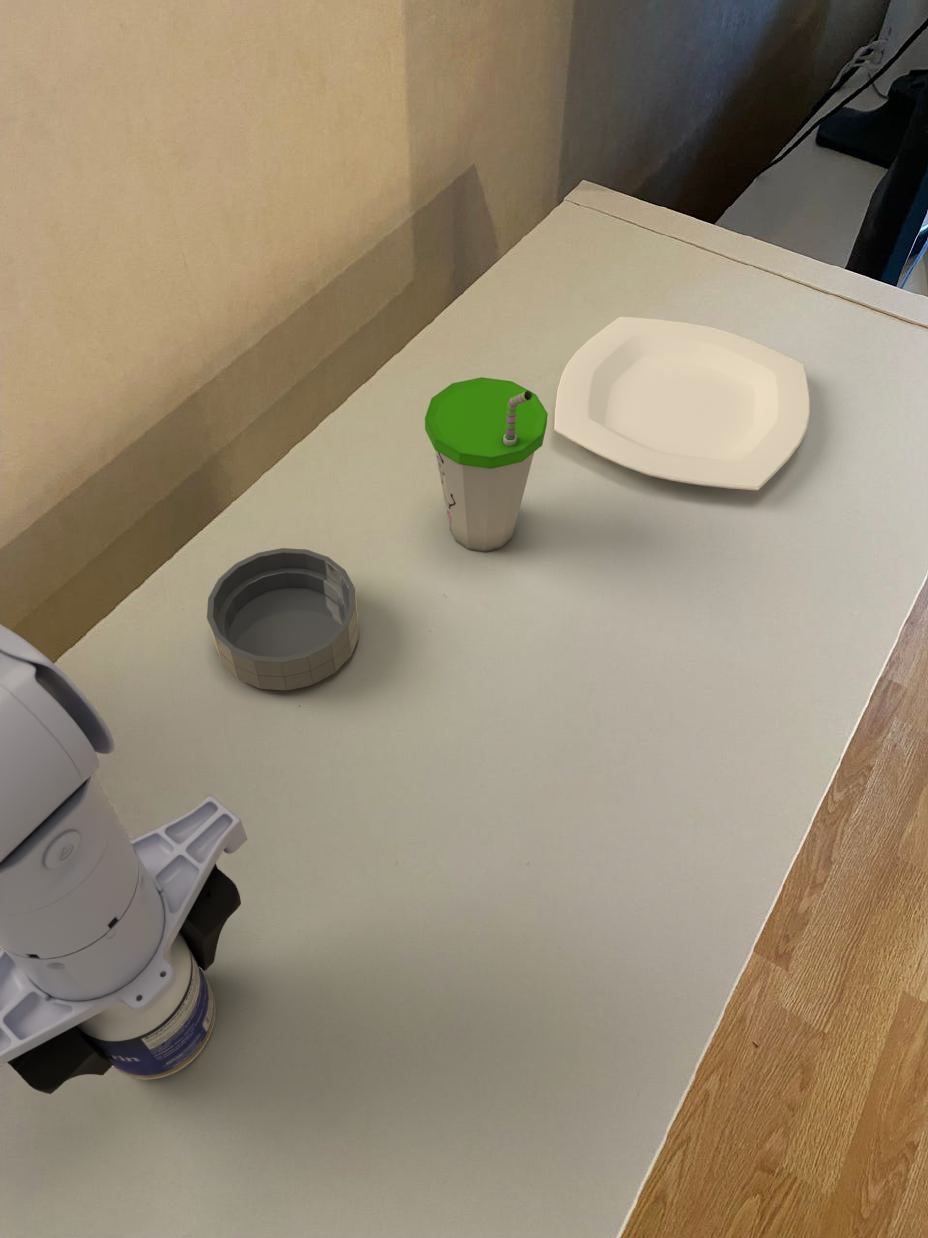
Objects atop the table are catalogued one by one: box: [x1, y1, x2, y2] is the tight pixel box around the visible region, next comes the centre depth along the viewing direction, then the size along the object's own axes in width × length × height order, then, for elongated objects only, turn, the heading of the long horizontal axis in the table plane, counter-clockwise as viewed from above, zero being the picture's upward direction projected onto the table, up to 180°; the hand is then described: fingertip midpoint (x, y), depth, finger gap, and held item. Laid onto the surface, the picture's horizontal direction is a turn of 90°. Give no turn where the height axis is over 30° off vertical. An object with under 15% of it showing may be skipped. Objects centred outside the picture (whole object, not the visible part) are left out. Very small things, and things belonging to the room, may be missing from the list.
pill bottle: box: [76, 932, 216, 1080], centre depth 47 cm, size 6×6×10 cm
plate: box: [553, 316, 811, 491], centre depth 80 cm, size 19×19×2 cm
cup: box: [424, 376, 549, 553], centre depth 67 cm, size 8×8×15 cm
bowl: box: [206, 547, 360, 691], centre depth 65 cm, size 9×9×4 cm
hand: (145, 1004), depth 49 cm, fingers closed on pill bottle, 5 cm apart
